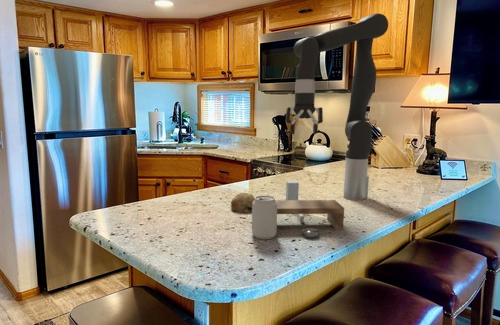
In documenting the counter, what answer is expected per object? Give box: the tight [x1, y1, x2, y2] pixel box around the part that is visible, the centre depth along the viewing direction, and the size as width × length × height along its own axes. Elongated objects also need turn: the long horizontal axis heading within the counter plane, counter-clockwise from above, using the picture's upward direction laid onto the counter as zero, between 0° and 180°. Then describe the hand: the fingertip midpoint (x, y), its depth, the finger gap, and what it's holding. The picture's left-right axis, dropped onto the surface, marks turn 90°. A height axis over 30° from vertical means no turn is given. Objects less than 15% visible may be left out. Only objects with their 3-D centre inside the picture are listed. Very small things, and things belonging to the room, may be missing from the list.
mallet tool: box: [285, 180, 305, 224], centre depth 134 cm, size 4×21×10 cm, turn 4°
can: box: [251, 194, 278, 240], centre depth 110 cm, size 8×8×12 cm
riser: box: [275, 199, 345, 230], centre depth 121 cm, size 24×10×7 cm, turn 94°
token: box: [301, 227, 320, 240], centre depth 112 cm, size 5×5×2 cm
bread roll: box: [230, 192, 255, 213], centre depth 140 cm, size 10×10×8 cm
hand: (303, 134), depth 144 cm, fingers open, 8 cm apart
